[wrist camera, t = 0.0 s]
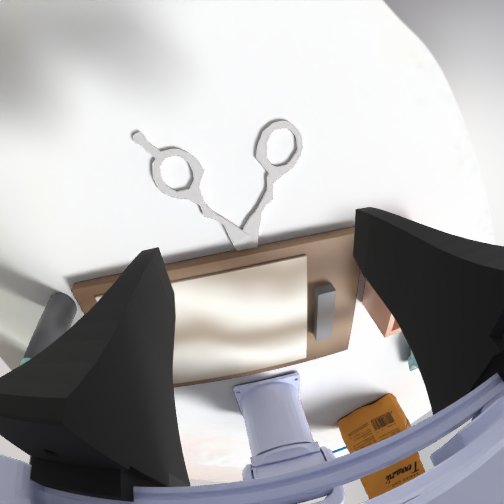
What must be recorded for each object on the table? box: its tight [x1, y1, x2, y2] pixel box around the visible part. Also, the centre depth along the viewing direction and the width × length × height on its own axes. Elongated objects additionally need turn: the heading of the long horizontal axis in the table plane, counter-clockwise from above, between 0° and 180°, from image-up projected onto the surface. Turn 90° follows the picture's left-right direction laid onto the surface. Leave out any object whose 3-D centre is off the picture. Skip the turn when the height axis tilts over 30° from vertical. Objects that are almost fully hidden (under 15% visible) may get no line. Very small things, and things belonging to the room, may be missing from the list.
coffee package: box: [338, 394, 425, 500], centre depth 36 cm, size 10×12×22 cm
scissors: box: [133, 120, 303, 251], centre depth 22 cm, size 11×1×20 cm
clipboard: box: [71, 227, 360, 387], centre depth 25 cm, size 15×24×2 cm, turn 97°
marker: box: [19, 293, 77, 366], centre depth 18 cm, size 3×3×9 cm
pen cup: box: [362, 279, 402, 337], centre depth 24 cm, size 6×6×5 cm
